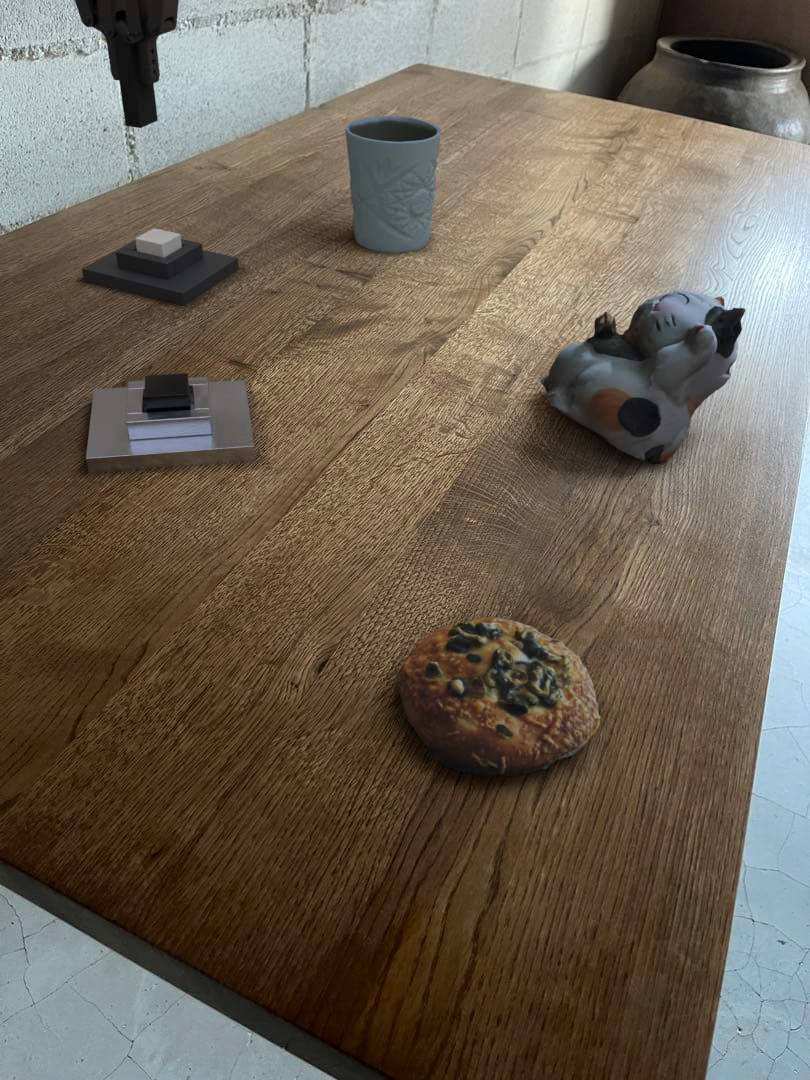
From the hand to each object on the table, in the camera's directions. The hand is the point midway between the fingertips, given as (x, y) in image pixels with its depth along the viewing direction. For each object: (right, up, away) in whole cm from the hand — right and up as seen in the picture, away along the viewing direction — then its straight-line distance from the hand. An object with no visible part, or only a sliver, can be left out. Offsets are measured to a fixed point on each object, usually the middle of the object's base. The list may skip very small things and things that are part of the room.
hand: (141, 122), depth 79 cm
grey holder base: (+5, -28, -8) cm, 29 cm away
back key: (-2, -7, +13) cm, 15 cm away
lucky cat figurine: (+41, -27, -4) cm, 49 cm away
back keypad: (-2, -9, +15) cm, 18 cm away
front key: (+5, -26, -9) cm, 28 cm away
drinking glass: (+21, -2, +26) cm, 33 cm away
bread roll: (+28, -45, -28) cm, 60 cm away
